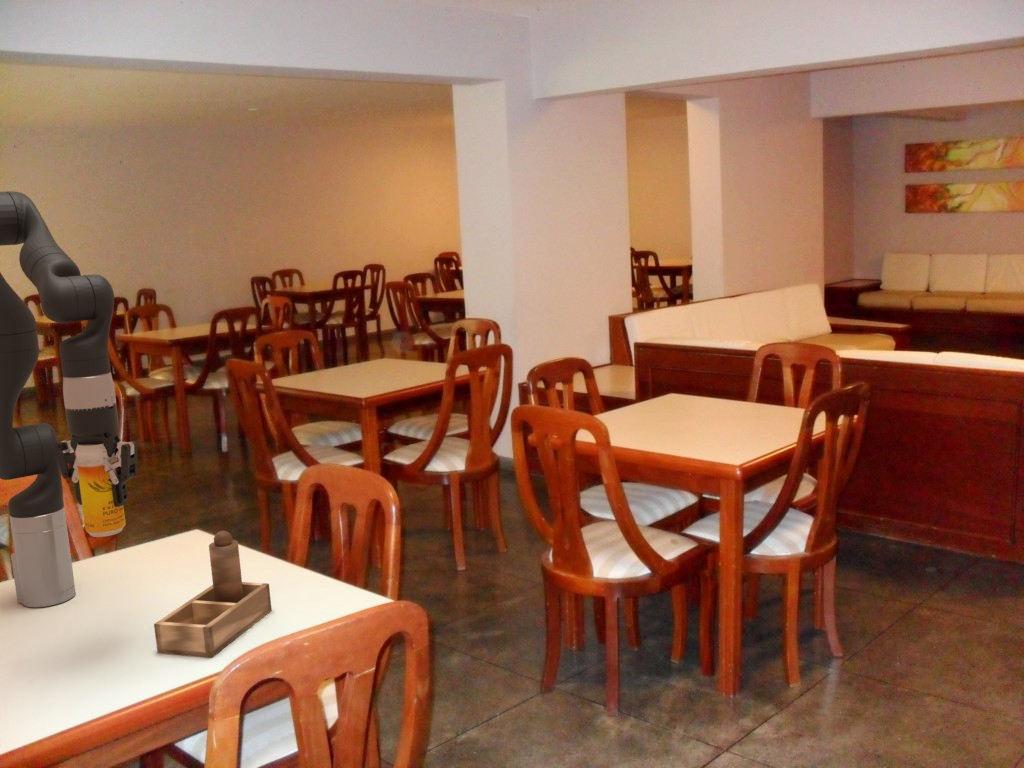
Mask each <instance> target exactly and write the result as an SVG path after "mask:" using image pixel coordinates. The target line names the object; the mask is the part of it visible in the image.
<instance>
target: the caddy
mask: <svg viewBox="0 0 1024 768" xmlns="http://www.w3.org/2000/svg"><path fill="white" fill-rule="evenodd" d="M208 551H209V561H210V568H211V569H210V571H211V577H212V585H211V586H209V587H207V588H205V589H204V590H203V591H202V592H200V593H198V594H196V595H195V596H194V597H192V598H191V599H189V600H188V601H186V602H185V603H183V604H182V605H179V607H176V608H175V609H174V610H173V611H171V612H170V613H168V614H167V615H165V616H164V617H162V618H161V619H159V620H158V621H156V622H155V623H154V625H153V627H154V634H155V645H156V652H157V653H156V654H163V655H175V656H187V657H188V656H189V657H199V658H213V657H215V656H216V655H217V654H218V653H219V652H221V651H222V650H223V649H225V648H227V646H229V644H231V643H232V642H234V641H235V640H236V639H238V637H240V636H241V635H243V634H244V633H245V632H247V630H249V629H250V628H251V627H252V626H254V625H255V624H256V623H258V622H259V621H260V620H262V619H263V618H264V617H265V616H266V615H268V614H269V613H271V612H272V601H271V591H270V590H271V589H270V583H267V582H266V583H265V582H264V583H263V582H248V581H243V580H242V579H243V577H242V569H241V558H240V550H239V541H238V540H236V539H233V536H232V535H231V533H230V532H229V531H227V530H220V531H218V532H217V533H216V534H215V535H214V537H213V542H211V543H209V545H208Z"/></svg>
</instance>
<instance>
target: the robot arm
mask: <svg viewBox="0 0 1024 768" xmlns="http://www.w3.org/2000/svg"><path fill="white" fill-rule="evenodd" d="M48 227H49V226H48V225H47V223H46V222H45V220H44V218H43V217H42V215H41V213H40V211H39V209H38V207H37V206H36V205H35V203H34V202H33V200H32V199H31V198H30V197H29V196H28V195H26V194H25V193H23V192H21V191H13V190H12V191H10V190H9V191H0V246H2V247H4V246H15V245H16V246H18V245H22V244H23V245H22V246H21V248H20V252H19V257H18V259H19V266H20V268H21V271H22V272H23V274H24V275H25V277H26V278H27V279H28V280H29V281H30V282H31V283H32V285H34V287H35V288H36V290H37V292H38V296H39V299H40V300H39V301H40V306H41V310H42V313H43V315H44V316H45V317H46V318H47V319H48V320H50V321H52V322H54V323H59V324H67V323H69V324H70V323H75V322H84V321H87V323H86V326H85V327H84V329H83V331H82V332H80V333H79V334H77V335H73V336H71V337H69V338H68V337H67V338H66V339H64V340H62V341H61V342H60V343H59V357H60V358H59V359H60V364H61V371H62V373H61V374H62V396H63V403H64V410H65V417H66V426H67V432H68V434H69V435H71V438H70V439H69V438H67V439H65V440H62V441H59V439H58V436H57V433H56V431H55V429H54V428H53V427H52V425H51V424H49V423H46V422H40V423H34V424H28V425H22V426H16V427H15V426H14V427H13V425H14V424H13V422H14V414H15V413H14V412H15V408H16V405H17V403H18V399H19V397H20V395H21V393H22V391H23V390H24V387H25V386H26V384H27V382H28V381H29V380H30V379H29V378H30V376H31V375H32V373H33V371H34V370H35V367H36V365H37V364H38V363H37V362H38V361H39V360H38V359H39V356H40V346H39V337H38V335H39V334H38V327H37V321H36V317H35V316H34V314H33V312H32V311H31V308H29V307H28V305H27V304H26V302H25V301H24V300H23V299H22V298H21V297H20V296H19V294H18V293H17V292H16V291H15V290H14V289H13V288H12V287H11V285H10V284H9V283H8V282H7V280H6V279H5V278H4V277H5V276H3V274H2V272H1V271H0V480H3V481H11V480H16V479H21V478H27V477H31V476H36V477H35V480H34V481H33V482H32V483H30V484H29V486H28V487H26V488H24V489H23V490H21V491H20V492H18V493H16V494H15V495H13V496H12V497H11V498H10V499H9V500H8V503H7V507H8V513H9V514H8V515H9V522H10V527H11V528H10V529H11V535H12V541H13V542H12V543H13V549H14V552H13V553H11V554H10V558H11V566H12V567H11V568H12V573H13V579H14V586H15V594H16V600H17V601H16V602H17V604H18V603H19V604H22V605H23V606H24V607H28V608H44V607H51V606H55V605H58V604H62V603H64V602H67V601H68V600H71V599H72V598H73V597H75V595H76V586H75V585H76V584H75V578H74V569H73V563H72V562H73V561H72V554H71V547H70V540H69V533H68V525H67V518H66V510H65V503H64V489H63V487H64V486H63V480H62V478H63V479H69V480H71V481H72V483H74V487H75V488H74V489H75V496H76V500H77V502H78V503H79V505H80V506H82V500H81V492H80V484H79V476H78V468H77V461H76V454H75V451H76V448H77V443H79V445H81V444H82V445H86V444H88V445H98V444H104V447H105V449H106V450H107V455H108V457H110V458H111V457H112V455H113V453H115V456H116V454H117V463H115V464H112V465H111V464H109V462H108V460H107V459H105V458H104V457H103V460H104V468H105V472H108V473H109V477H110V479H111V481H112V482H113V485H112V492H113V500H114V506H116V507H120V506H122V505H126V504H127V501H128V499H129V494H128V484H127V482H128V480H131V479H133V478H135V477H137V476H138V443H137V442H136V441H134V440H132V441H122V440H121V438H120V437H119V435H118V430H119V427H120V422H119V415H118V414H119V413H118V407H117V399H116V398H117V397H116V389H115V384H114V380H113V376H112V372H111V371H112V370H111V362H110V355H109V354H110V353H109V352H110V351H109V340H110V339H109V338H110V330H111V326H112V325H111V324H112V318H113V313H114V309H115V308H114V306H115V293H114V289H113V287H112V285H111V283H110V282H109V280H108V279H107V278H105V277H104V276H103V275H101V274H83V275H81V270H80V268H79V266H78V265H77V264H76V263H75V261H74V260H73V259H72V258H71V257H70V255H68V254H67V253H66V252H65V251H64V250H63V249H62V248H61V247H60V245H59V244H58V243H57V241H56V240H55V239H54V237H53V234H52V232H51V231H50V229H49V228H48ZM115 468H117V470H118V474H117V473H116V471H115Z"/></svg>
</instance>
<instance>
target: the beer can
mask: <svg viewBox="0 0 1024 768" xmlns="http://www.w3.org/2000/svg"><path fill="white" fill-rule="evenodd" d="M74 454H75V459H76V461H77V468H78V476H79V484H80V492H81V500H82V505H81V507H82V514H83V523H84V530H85V532H86V533H88V534H89V536H90V537H94V538H95V537H96V538H101V537H109V536H113V535H117V534H119V533H121V532H122V531H123V530H124V527H126V525H127V522H126V516H125V507H124V505H125V504H124V505H122V506H120V507H116V506H114V500H113V492H112V485H113V482H112V481H111V479H110V477H109V473H108V472H105V468H104V460H103V457H104V458H105V459H107V460H108V462H109V464H111V465H112V464H115V463H117V454H116V456H115V453H113V455H112V457H111V458H110V457H108V455H107V450H106V449H105V447H104V444H98V445H88V444H86V445H82V444H81V445H79V443H77V448H76V451H74ZM115 471H116V473H117V474H118V470H117V468H115Z"/></svg>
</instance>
